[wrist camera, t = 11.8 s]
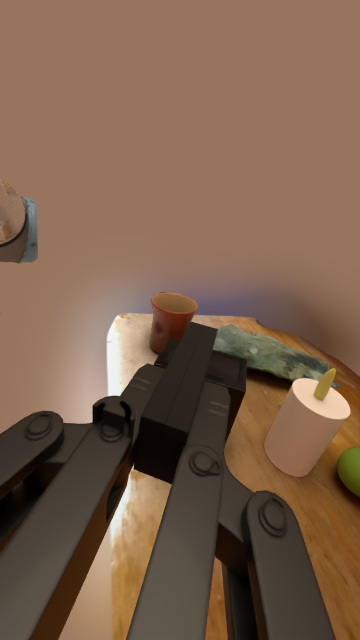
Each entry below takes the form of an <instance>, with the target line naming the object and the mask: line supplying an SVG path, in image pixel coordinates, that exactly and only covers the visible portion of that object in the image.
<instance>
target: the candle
mask: <svg viewBox="0 0 360 640" xmlns="http://www.w3.org/2000/svg"><path fill="white" fill-rule="evenodd" d="M335 373H336V369H330V370H329V371H327V372H326V373H325V374H324V375H323V376H322V378H321V379H320V381H317V380H313V379H308V378H301V379H297V380H295V381H294V382H293V384H292V386H291V388H290V390H289V392H288V394H287V396H286V398H285V400H284V402H283V404H282V406H281V408H280V410H279V412H278V414H277V416H276V418H275V420H274V422H273V424H272V426H271V428H270V430H269V432H268V434H267V436H266V438H265V441H264V449H265V452H266V455H267V456H268V458H269V459H270V461H271V462H272V463H273V464H274V465H275V466H276V467H277V468H278V469H279V470H281V471H282V472H284V473H286V474H288V475H291V476H294V477H303V476H306V475H307V474H308V473H310V471H311V470H312V468H313V467H314V466H315V464H316V463H317V461H318V460H319V458H320V457H321V455H322V454H323V453H324V451H325V450H326V448H327V447H328V445H329V444H330V442H331V441H332V439H333V438H334V437H335V435H336V434H337V432H338V431H339V429H340V428H341V426H342V425H343V424H344V422H345V421H346V419H347V418H348V416H349V414H350V407H349V405H348V403H347V401H346V400H345V399H344V398H343V397H342V396H341V395H340V394H339V393H338V392H337V391H336V390H334V389H333V388H331V384H332V382H333V379H334V376H335Z"/></svg>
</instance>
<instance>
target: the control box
mask: <svg viewBox="0 0 360 640" xmlns="http://www.w3.org/2000/svg"><path fill="white" fill-rule="evenodd" d="M179 342H180V340H179V339H175V338H172V337H170V338H169V340H168V342H167V343H166V345H165V346H164V348H163V350H162V351H161V353H160V354H159V356H158V358H157V359H156V361H155V363H154V365H155V366H158V367H161V368H164V369H166V367H167V365H168V363H169V361H170V359H171V357H172V356H173V354H174V352H175V350H176V348H177V346H178V344H179ZM246 373H247V359H244V358H241V357H237V356H234V355H231V354H227V353H224V352H220V351H217V350H212V354H211V357H210V361H209V364H208V368H207V372H206V375H205V379H204V380H205V381H208V382H211V383H214V384H217V385H220V386H224V387H227V389H228V392H229V395H230V397H231V399H230V407H229V415H228V423H227V431H226V439H225V444H226V441H227V439H228V436H229V433H230V431H231V428H232V426H233V423H234V421H235V418H236V415H237V413H238V410H239V408H240V405H241V402H242V400H243V397H244V395H245V392H246Z"/></svg>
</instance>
